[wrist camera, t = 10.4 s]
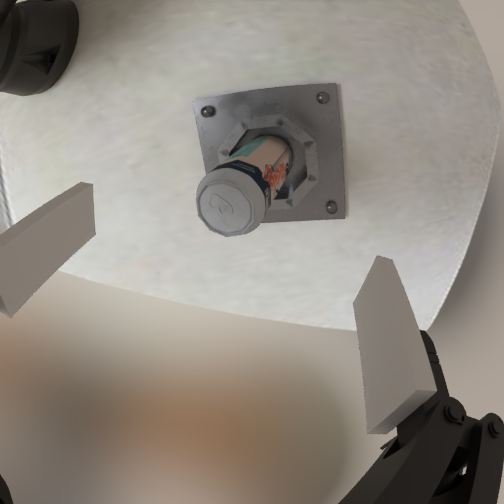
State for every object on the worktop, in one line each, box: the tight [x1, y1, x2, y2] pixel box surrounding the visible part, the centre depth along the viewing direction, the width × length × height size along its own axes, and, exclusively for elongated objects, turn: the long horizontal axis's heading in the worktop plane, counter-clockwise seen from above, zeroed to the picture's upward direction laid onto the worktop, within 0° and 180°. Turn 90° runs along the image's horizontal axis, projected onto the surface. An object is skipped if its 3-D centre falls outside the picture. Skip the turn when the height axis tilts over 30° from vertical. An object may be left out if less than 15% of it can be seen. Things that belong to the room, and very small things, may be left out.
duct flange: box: [193, 83, 345, 223], centre depth 27 cm, size 14×14×4 cm
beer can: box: [196, 135, 293, 237], centre depth 23 cm, size 5×5×12 cm
